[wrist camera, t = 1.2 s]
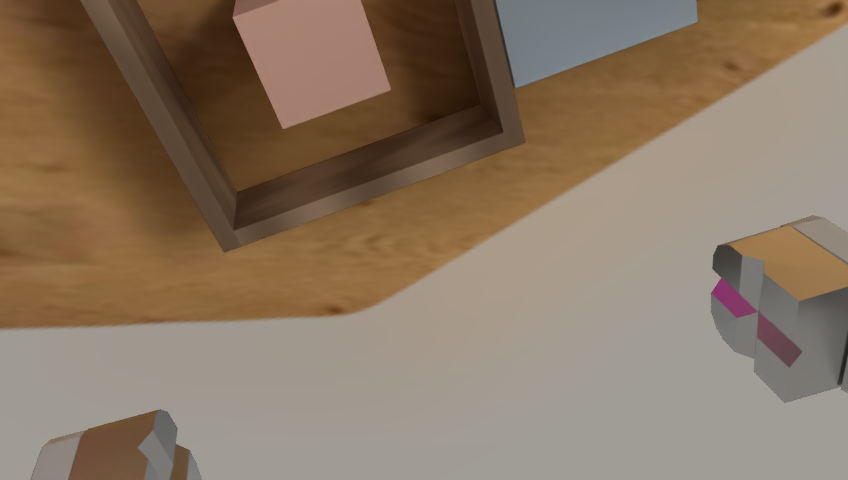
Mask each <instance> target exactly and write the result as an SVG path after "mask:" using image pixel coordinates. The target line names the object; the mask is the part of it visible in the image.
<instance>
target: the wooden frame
mask: <svg viewBox="0 0 848 480" xmlns="http://www.w3.org/2000/svg"><path fill="white" fill-rule="evenodd" d="M80 1H81V3H82V5H83V7H84V8H85V10H86V12H87V14H88V15H89V17H90V19H91V21H92V22H93V24H94V26H95V28H96V29H97V31H98V33H99V35H100V36H101V38H102V40H103V42H104V43H105V45H106V47H107V49H108V50H109V52H110V54H111V56H112V57H113V59H114V61H115V63H116V64H117V66H118V68H119V70H120V71H121V73H122V75H123V77H124V78H125V80H126V82H127V84H128V85H129V87H130V89H131V91H132V92H133V94H134V96H135V98H136V99H137V101H138V103H139V105H140V106H141V108H142V110H143V112H144V113H145V115H146V117H147V119H148V120H149V122H150V124H151V126H152V127H153V129H154V131H155V133H156V134H157V136H158V138H159V140H160V141H161V143H162V145H163V147H164V148H165V150H166V152H167V154H168V155H169V157H170V159H171V161H172V162H173V164H174V166H175V168H176V169H177V171H178V173H179V175H180V176H181V178H182V180H183V182H184V183H185V185H186V187H187V189H188V190H189V192H190V194H191V196H192V197H193V199H194V201H195V203H196V204H197V206H198V208H199V210H200V211H201V213H202V215H203V217H204V218H205V220H206V222H207V224H208V225H209V227H210V229H211V231H212V232H213V234H214V236H215V238H216V240H217V241H218V243H219V245H220V247H221V248H222V250H223V252H224V253H225V252H227V251H230V250H233V249H236V248H238V247H241V246H244V245H246V244H249V243H252V242H255V241H257V240H260V239H263V238H266V237H268V236H271V235H274V234H277V233H279V232H282V231H285V230H288V229H290V228H293V227H296V226H299V225H301V224H304V223H307V222H309V221H312V220H315V219H318V218H320V217H323V216H326V215H329V214H331V213H334V212H337V211H340V210H342V209H345V208H348V207H351V206H353V205H356V204H359V203H362V202H364V201H367V200H370V199H372V198H375V197H378V196H381V195H383V194H386V193H389V192H392V191H394V190H397V189H400V188H403V187H405V186H408V185H411V184H414V183H416V182H419V181H422V180H425V179H427V178H430V177H433V176H436V175H438V174H441V173H444V172H446V171H449V170H452V169H455V168H457V167H460V166H463V165H466V164H468V163H471V162H474V161H477V160H479V159H482V158H485V157H488V156H490V155H493V154H496V153H499V152H501V151H504V150H507V149H509V148H512V147H515V146H518V145H520V144H523V143H526V142H525V138H524V134H523V129H522V125H521V121H520V116H519V112H518V108H517V104H516V99H515V95H514V91H513V86H512V82H511V78H510V73H509V69H508V65H507V61H506V56H505V52H504V48H503V43H502V39H501V35H500V30H499V26H498V22H497V18H496V13H495V9H494V5H493V0H454V4H455V7H456V11H457V15H458V19H459V22H460V26H461V30H462V34H463V38H464V41H465V45H466V49H467V53H468V56H469V60H470V64H471V68H472V72H473V75H474V79H475V83H476V87H477V91H478V94H479V98H480V102H481V104H479V105H476V106H473V107H471V108H468V109H465V110H462V111H460V112H457V113H454V114H451V115H449V116H446V117H443V118H440V119H438V120H435V121H432V122H429V123H427V124H424V125H421V126H418V127H416V128H413V129H410V130H407V131H405V132H402V133H399V134H396V135H394V136H391V137H388V138H385V139H383V140H380V141H377V142H374V143H372V144H369V145H366V146H363V147H361V148H358V149H355V150H353V151H350V152H347V153H344V154H342V155H339V156H336V157H333V158H331V159H328V160H325V161H322V162H320V163H317V164H314V165H311V166H309V167H306V168H303V169H300V170H298V171H295V172H292V173H289V174H287V175H284V176H281V177H278V178H276V179H273V180H270V181H267V182H265V183H262V184H259V185H256V186H254V187H251V188H248V189H245V190H243V191H240V192H237V191H236V189H235V188H234V186H233V184H232V182H231V180H230V178H229V176H228V174H227V172H226V170H225V168H224V167H223V165H222V163H221V161H220V159H219V157H218V155H217V153H216V151H215V149H214V147H213V146H212V144H211V142H210V140H209V138H208V136H207V134H206V132H205V130H204V128H203V127H202V125H201V123H200V121H199V119H198V117H197V115H196V113H195V111H194V109H193V107H192V106H191V104H190V102H189V100H188V98H187V96H186V94H185V92H184V90H183V88H182V87H181V85H180V83H179V81H178V79H177V77H176V75H175V73H174V71H173V69H172V67H171V66H170V64H169V62H168V60H167V58H166V56H165V54H164V52H163V50H162V48H161V46H160V45H159V43H158V41H157V39H156V37H155V35H154V33H153V31H152V29H151V27H150V26H149V24H148V22H147V20H146V18H145V16H144V14H143V12H142V10H141V8H140V6H139V5H138V3H137V1H136V0H80Z"/></svg>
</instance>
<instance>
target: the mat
mask: <svg viewBox="0 0 848 480" xmlns="http://www.w3.org/2000/svg"><path fill="white" fill-rule="evenodd" d="M493 5H494V9H495V13H496V18H497V22H498V26H499V30H500V35H501V39H502V43H503V48H504V52H505V56H506V61H507V65H508V69H509V73H510V78H511V82H512V85H513V86H514V87H515V88H518V87H521V86H524V85H526V84H529V83H532V82H535V81H537V80H540V79H543V78H546V77H548V76H551V75H554V74H557V73H559V72H562V71H565V70H568V69H570V68H573V67H576V66H579V65H581V64H584V63H587V62H590V61H592V60H595V59H598V58H601V57H603V56H606V55H609V54H612V53H614V52H617V51H620V50H623V49H625V48H628V47H631V46H634V45H636V44H639V43H642V42H645V41H647V40H650V39H653V38H655V37H658V36H661V35H664V34H666V33H669V32H672V31H675V30H677V29H680V28H683V27H686V26H688V25H691V24H694V23H697V22H698V17H697V2H696V0H493Z"/></svg>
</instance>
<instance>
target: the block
mask: <svg viewBox="0 0 848 480" xmlns="http://www.w3.org/2000/svg"><path fill="white" fill-rule="evenodd" d="M232 18H233V20H234V22H235V24H236V27H237V29H238V31H239V33H240V35H241V38H242V40H243V42H244V44H245V46H246V49H247V51H248V53H249V55H250V58H251V60H252V62H253V64H254V66H255V69H256V71H257V73H258V75H259V77H260V80H261V82H262V84H263V86H264V89H265V91H266V93H267V95H268V97H269V100H270V102H271V104H272V106H273V108H274V111H275V113H276V115H277V117H278V119H279V122H280V124H281V126H282V128H283V129H286V128H288V127H291V126H294V125H297V124H299V123H302V122H305V121H308V120H310V119H313V118H316V117H318V116H321V115H324V114H327V113H329V112H332V111H335V110H338V109H340V108H343V107H346V106H349V105H351V104H354V103H357V102H360V101H362V100H365V99H368V98H371V97H373V96H376V95H379V94H382V93H384V92H387V91H390V90H391V88H390V85H389V82H388V79H387V76H386V73H385V70H384V67H383V64H382V61H381V58H380V55H379V52H378V50H377V47H376V44H375V41H374V38H373V35H372V32H371V29H370V26H369V23H368V20H367V17H366V14H365V11H364V8H363V5H362V3H361V0H236V2H235V7H234V12H233V17H232Z"/></svg>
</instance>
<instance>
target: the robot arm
mask: <svg viewBox="0 0 848 480" xmlns="http://www.w3.org/2000/svg"><path fill="white" fill-rule="evenodd" d="M713 270H714V271H715V272H716V273H717V274H718V275H719V276H720V277H721V280H720V281H719V282H718V284H717V285H716V287H715V288H714V290H713V291H712V293H711V312H712V315H713V319H714V322H715V325H716V328H717V330H718V331H719V333H720V335H721V336H722V338H723V340H724V341H725V342H726V343H727V344H728V345H729V346H730V347H731V348H732V349H733V351H734V352H737V353H740V354H743V355H745V356H748V357H751V358H754V372H755V373H756V374H757V375H758V376H759V377H760V378H761V379H762V380H763V381H764V382H765V383H766V384H767V385H768V386H769V388H770V389H771V390H773V392H774V393H775V394H777V396H778V397H779V398H780V399H781V400H782V401H783V402H784V403H786V402H790V401H793V400H796V399H800V398H803V397H807V396H810V395H814V394H817V393H821V392H824V391H827V390H831V389H834V388H838V387H841V386H842V387H841V390H843V391H845V392H847V393H848V232H846V231H845V230H843V229H841V228H840V227H838V226H837V225H835V224H834V223H832V222H830V221H829V220H827V219H825V218H823V217H819V216H809V217H806V218H803V219H800V220H797V221H794V222H791V223H788V224H785V225H782V226H780V227H778V228H774V229H771V230H768V231H764V232H761V233H758V234H755V235H751V236H748V237H744V238H741V239H738V240H734V241H731V242H728V243H725V244H721V245H718V246H717V248H716V251H715V253H714V255H713ZM176 436H177V427H176V425H175V423H174V422H173V420H172V418H171V417H170V415H169V413H168V412H167V411H164V410H156V411H152V412H149V413H145V414H141V415H138V416H134V417H130V418H127V419H123V420H120V421H115V422H112V423H108V424H104V425H101V426H97V427H94V428H90V429H88V430H86V431H81V432H77V433H73V434H70V435H66V436H63V437H59V438H55V439H52V440H50V441H49V442H48V443H47V444H46V445H44V446H43V447H42V449H41V452H40V455H39V458H38V460H37V463H36V466H35V469H34V471H33V474H32V477H31V480H202V479H201V475H200V472H199V469H198V467H197V463H196V461H195V460H194V457H193V456H192V454H191V452H190V450H188V449H186V448H184V447H181V446H179V445H177V444H176Z"/></svg>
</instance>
